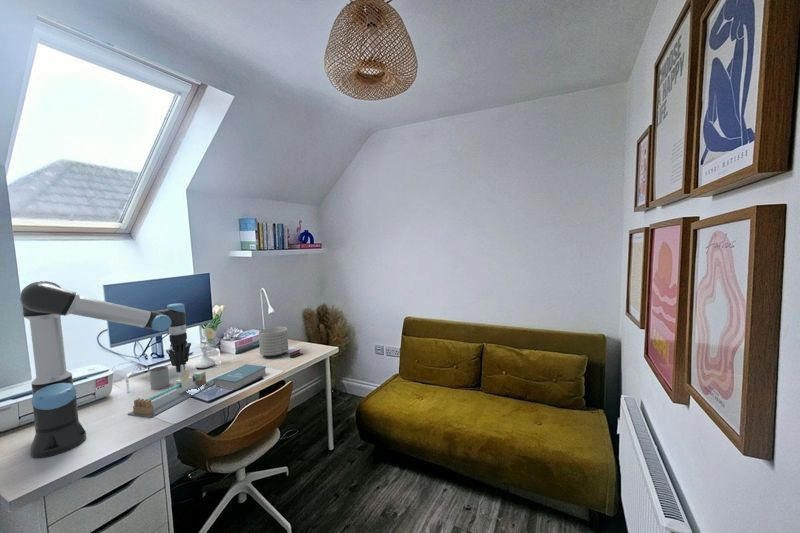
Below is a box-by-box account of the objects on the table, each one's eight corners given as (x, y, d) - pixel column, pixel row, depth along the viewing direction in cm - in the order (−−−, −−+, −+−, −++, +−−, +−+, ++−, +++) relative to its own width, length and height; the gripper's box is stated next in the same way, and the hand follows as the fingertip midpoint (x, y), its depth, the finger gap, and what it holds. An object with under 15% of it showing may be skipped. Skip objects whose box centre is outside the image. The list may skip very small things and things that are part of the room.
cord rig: (151, 417, 147) (150, 402, 146) (127, 414, 150) (126, 399, 149) (214, 384, 182) (213, 371, 181) (193, 382, 185) (192, 370, 184)
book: (236, 390, 174) (235, 381, 174) (213, 387, 179) (213, 378, 179) (266, 374, 195) (265, 366, 195) (245, 371, 201) (245, 363, 200)
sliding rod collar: (183, 390, 168) (182, 372, 167) (176, 389, 169) (174, 371, 168) (193, 385, 174) (192, 367, 173) (186, 384, 175) (185, 367, 174)
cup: (159, 389, 176) (157, 372, 176) (147, 389, 178) (145, 371, 177) (173, 383, 185) (171, 366, 184) (161, 382, 186) (159, 365, 186)
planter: (283, 348, 243) (281, 325, 242) (292, 355, 228) (291, 330, 227) (256, 354, 231) (255, 330, 230) (264, 361, 216) (263, 335, 215)
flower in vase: (200, 371, 202) (198, 332, 201) (191, 367, 208) (189, 330, 207) (221, 364, 214) (219, 327, 212) (212, 361, 220) (209, 325, 218)
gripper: (172, 337, 161) (175, 382, 162) (194, 330, 173) (197, 372, 175) (160, 336, 162) (163, 381, 164) (183, 329, 175) (186, 371, 176)
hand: (181, 377), depth 169 cm, fingers closed
